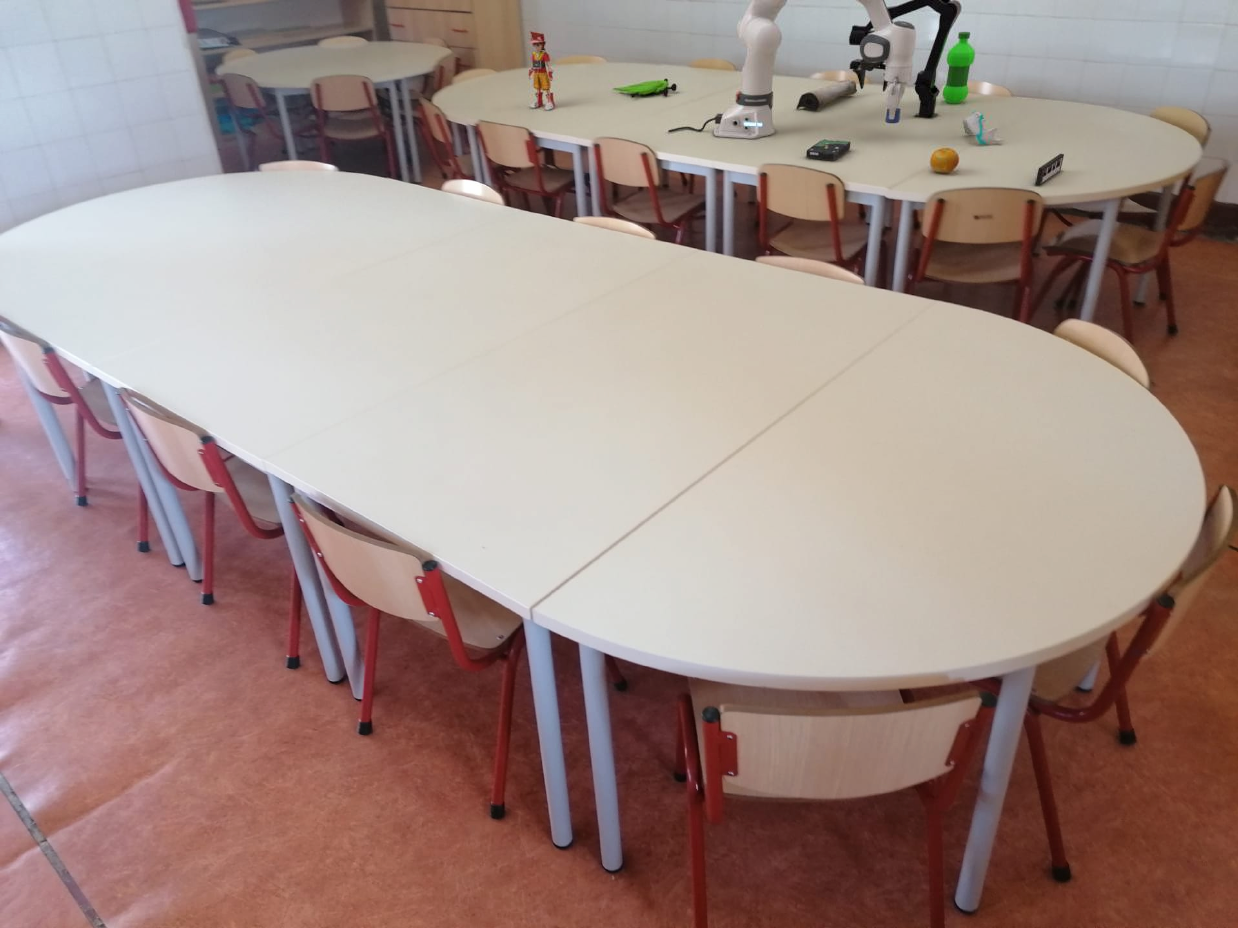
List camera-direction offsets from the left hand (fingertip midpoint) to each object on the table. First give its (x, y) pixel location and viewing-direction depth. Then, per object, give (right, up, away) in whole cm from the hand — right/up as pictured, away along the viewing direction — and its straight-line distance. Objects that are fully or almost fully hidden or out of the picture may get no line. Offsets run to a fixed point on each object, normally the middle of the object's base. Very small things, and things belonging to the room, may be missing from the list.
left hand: (892, 116), depth 314 cm
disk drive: (-24, -16, -7) cm, 30 cm away
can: (0, -1, +1) cm, 2 cm away
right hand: (+2, +22, +31) cm, 39 cm away
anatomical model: (+29, -9, -3) cm, 30 cm away
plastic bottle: (+37, +22, +41) cm, 59 cm away
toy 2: (-86, +43, +83) cm, 127 cm away
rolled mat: (-11, +25, +51) cm, 58 cm away
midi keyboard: (+36, -34, -39) cm, 63 cm away
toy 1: (-129, +31, +69) cm, 149 cm away
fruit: (+7, -29, -29) cm, 41 cm away
